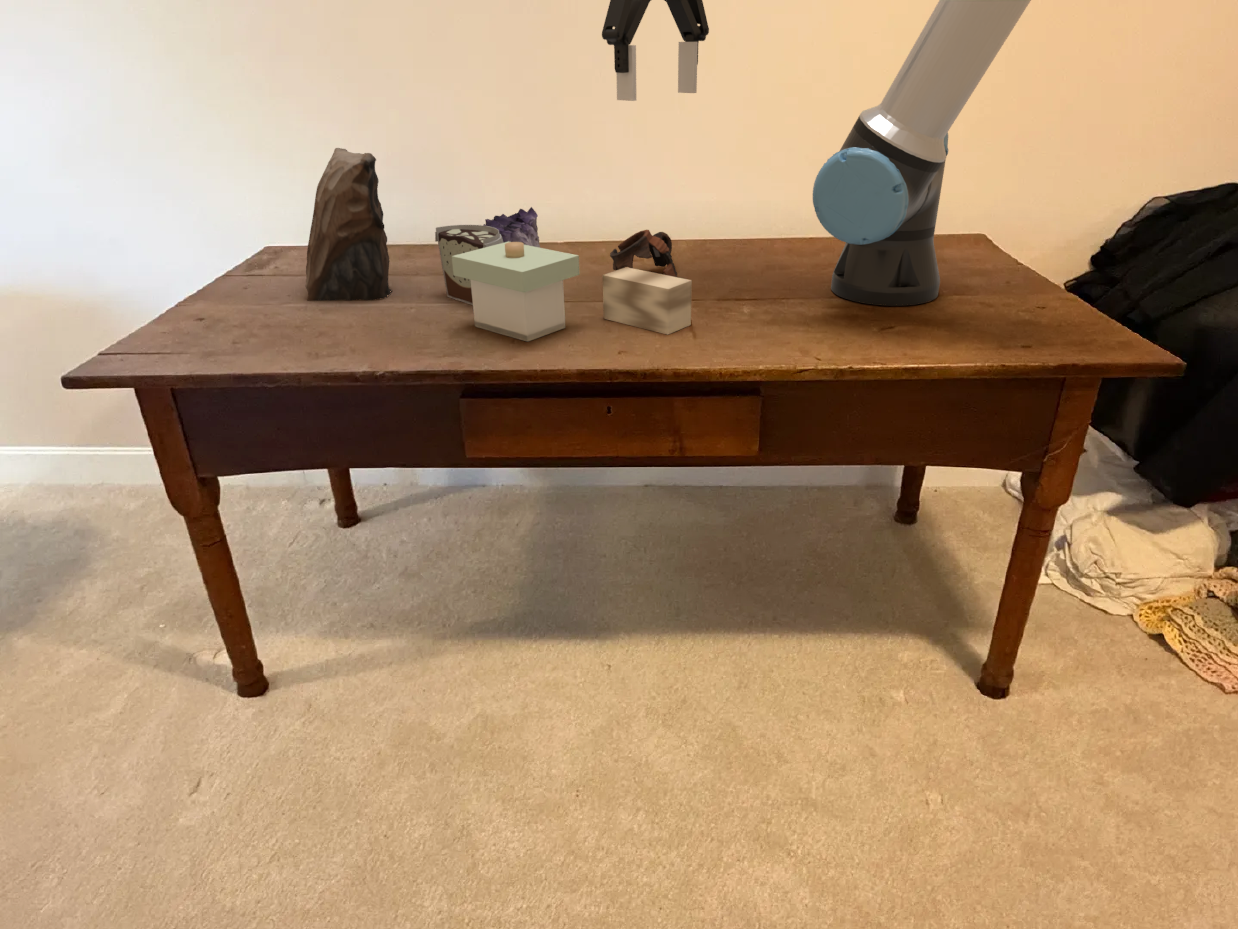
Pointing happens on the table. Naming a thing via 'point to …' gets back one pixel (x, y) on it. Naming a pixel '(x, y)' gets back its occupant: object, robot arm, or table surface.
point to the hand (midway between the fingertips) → (658, 96)
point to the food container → (459, 242)
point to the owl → (347, 233)
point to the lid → (516, 266)
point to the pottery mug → (645, 251)
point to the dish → (519, 310)
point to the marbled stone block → (647, 300)
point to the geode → (517, 227)
